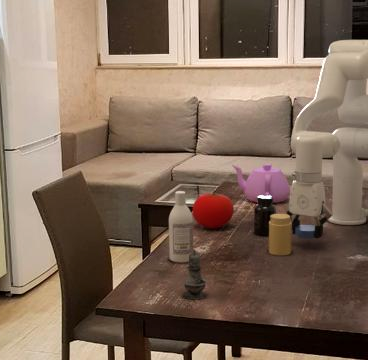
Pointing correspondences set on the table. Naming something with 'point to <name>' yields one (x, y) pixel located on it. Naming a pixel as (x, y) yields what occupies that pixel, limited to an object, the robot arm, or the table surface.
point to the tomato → (213, 210)
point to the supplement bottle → (263, 215)
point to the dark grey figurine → (194, 278)
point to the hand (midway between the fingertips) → (307, 235)
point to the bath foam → (180, 230)
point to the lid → (305, 231)
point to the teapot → (264, 183)
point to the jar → (280, 234)
